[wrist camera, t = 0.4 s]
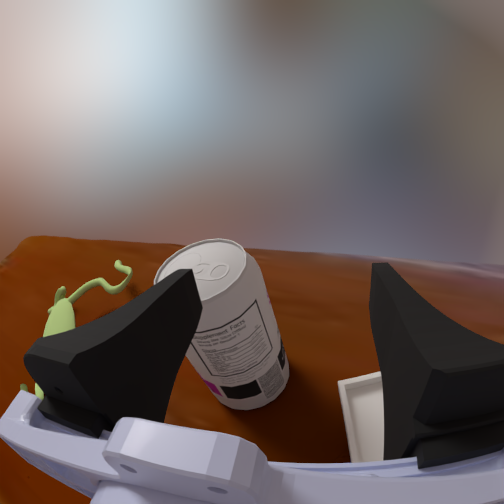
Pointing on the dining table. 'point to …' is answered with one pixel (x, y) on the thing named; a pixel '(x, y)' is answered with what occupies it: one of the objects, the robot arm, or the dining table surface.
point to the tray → (363, 416)
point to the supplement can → (232, 325)
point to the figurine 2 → (63, 310)
